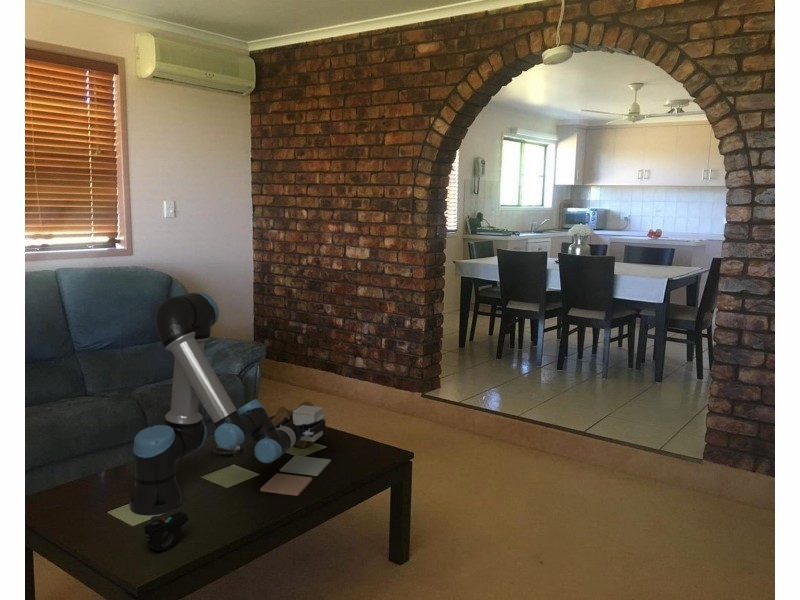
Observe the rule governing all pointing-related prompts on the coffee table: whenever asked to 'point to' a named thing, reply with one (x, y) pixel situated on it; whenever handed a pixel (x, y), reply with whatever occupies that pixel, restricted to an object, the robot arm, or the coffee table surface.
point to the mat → (305, 465)
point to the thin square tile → (286, 484)
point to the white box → (308, 419)
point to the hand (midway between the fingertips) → (313, 416)
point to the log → (227, 451)
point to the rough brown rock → (284, 413)
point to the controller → (164, 530)
